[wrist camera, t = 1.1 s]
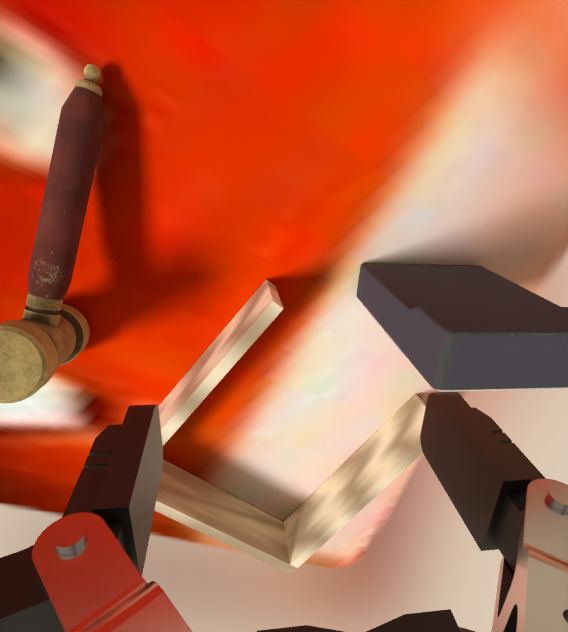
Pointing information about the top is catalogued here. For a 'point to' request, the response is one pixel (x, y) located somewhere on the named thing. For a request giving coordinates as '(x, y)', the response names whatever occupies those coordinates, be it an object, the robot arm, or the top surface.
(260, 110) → the top surface
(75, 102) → the gavel
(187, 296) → the top surface
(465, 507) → the robot arm
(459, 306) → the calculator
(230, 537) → the beige piece
